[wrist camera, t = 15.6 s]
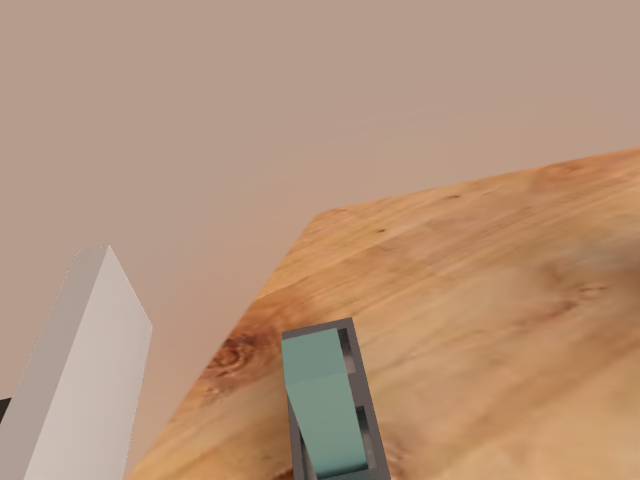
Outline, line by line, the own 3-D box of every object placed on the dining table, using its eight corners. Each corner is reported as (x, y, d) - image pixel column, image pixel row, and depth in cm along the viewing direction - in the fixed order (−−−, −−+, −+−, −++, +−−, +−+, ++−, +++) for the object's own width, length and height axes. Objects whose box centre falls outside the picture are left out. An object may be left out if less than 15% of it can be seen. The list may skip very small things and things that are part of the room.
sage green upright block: (312, 438, 44) (280, 340, 37) (359, 427, 44) (336, 327, 37) (318, 483, 40) (284, 385, 33) (369, 472, 40) (346, 372, 33)
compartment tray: (288, 352, 53) (282, 332, 51) (356, 338, 53) (351, 317, 51) (304, 521, 39) (295, 501, 37) (395, 502, 39) (391, 481, 37)
